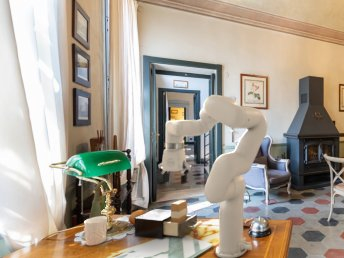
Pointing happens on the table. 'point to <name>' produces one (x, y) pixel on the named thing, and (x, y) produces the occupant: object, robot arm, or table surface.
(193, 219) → the drawer
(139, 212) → the fruit
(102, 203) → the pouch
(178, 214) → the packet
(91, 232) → the white cup
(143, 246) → the table surface
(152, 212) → the cabinet
